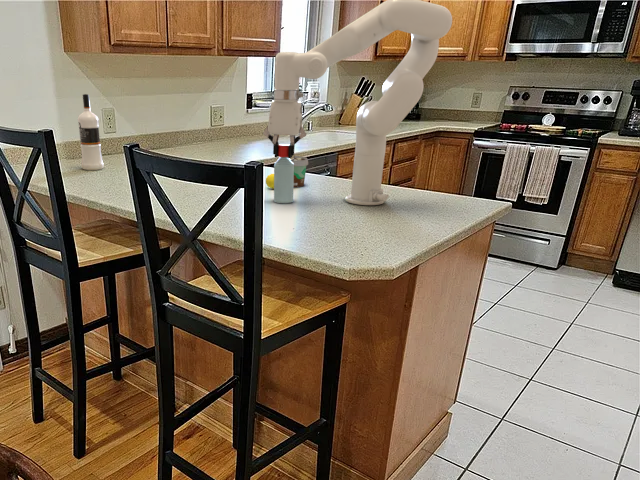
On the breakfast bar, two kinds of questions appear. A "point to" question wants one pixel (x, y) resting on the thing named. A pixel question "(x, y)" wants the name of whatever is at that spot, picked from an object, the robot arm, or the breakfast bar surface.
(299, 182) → the food container
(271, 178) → the lemon
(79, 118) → the vodka
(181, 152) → the breakfast bar surface
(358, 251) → the breakfast bar surface
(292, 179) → the bottle
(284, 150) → the cap
